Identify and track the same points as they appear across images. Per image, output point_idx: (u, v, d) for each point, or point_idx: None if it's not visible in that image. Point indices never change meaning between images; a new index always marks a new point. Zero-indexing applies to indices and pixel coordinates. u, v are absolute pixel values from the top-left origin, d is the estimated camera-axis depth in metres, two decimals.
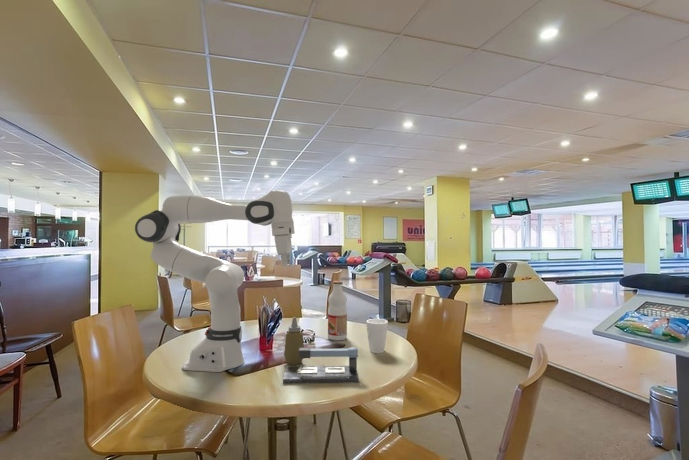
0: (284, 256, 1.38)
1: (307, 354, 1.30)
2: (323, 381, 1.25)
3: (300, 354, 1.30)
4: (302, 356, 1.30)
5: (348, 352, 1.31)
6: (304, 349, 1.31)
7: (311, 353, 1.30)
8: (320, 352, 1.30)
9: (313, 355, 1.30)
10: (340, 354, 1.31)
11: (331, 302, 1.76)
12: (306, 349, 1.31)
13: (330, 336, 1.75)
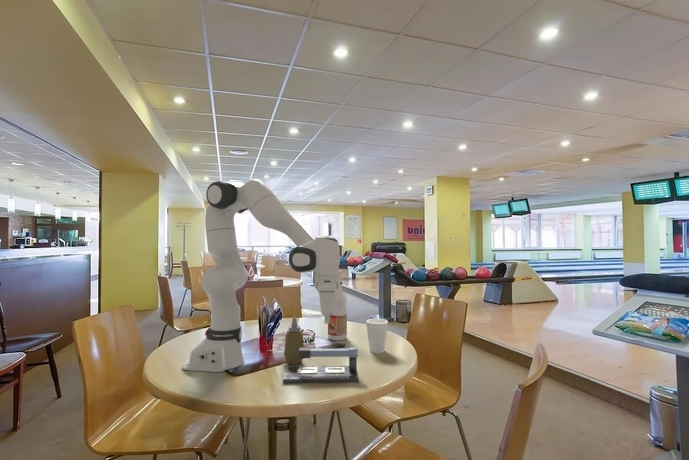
0: None
1: (307, 354, 1.30)
2: (323, 381, 1.25)
3: (300, 354, 1.30)
4: (302, 356, 1.30)
5: (348, 352, 1.31)
6: (304, 349, 1.31)
7: (311, 353, 1.30)
8: (320, 352, 1.30)
9: (313, 355, 1.30)
10: (340, 354, 1.31)
11: None
12: (306, 349, 1.31)
13: (330, 336, 1.75)
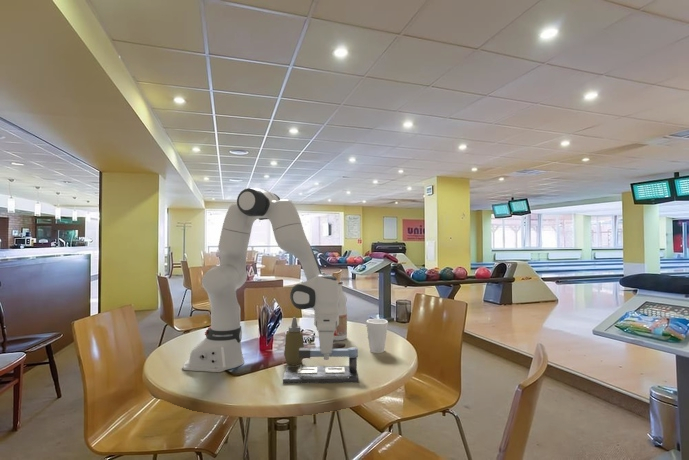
0: None
1: (307, 354, 1.30)
2: (323, 381, 1.25)
3: (300, 354, 1.30)
4: (302, 356, 1.30)
5: (348, 352, 1.31)
6: (304, 349, 1.31)
7: (311, 353, 1.30)
8: (320, 352, 1.30)
9: (313, 355, 1.30)
10: (340, 354, 1.31)
11: None
12: (306, 349, 1.31)
13: None
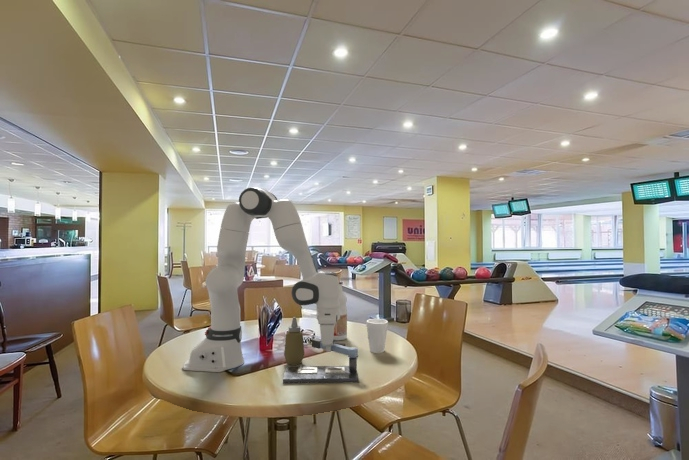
0: None
1: (317, 344, 1.41)
2: (323, 381, 1.25)
3: (312, 343, 1.43)
4: (314, 345, 1.42)
5: (347, 351, 1.32)
6: (317, 339, 1.43)
7: (320, 344, 1.41)
8: None
9: (322, 346, 1.40)
10: (341, 351, 1.34)
11: None
12: (318, 340, 1.42)
13: None
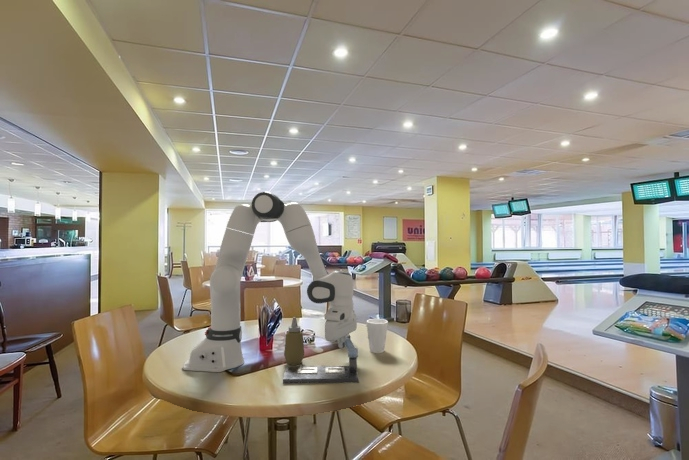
0: (339, 338, 1.40)
1: None
2: (323, 381, 1.25)
3: None
4: None
5: None
6: None
7: None
8: (345, 341, 1.44)
9: None
10: None
11: None
12: None
13: None
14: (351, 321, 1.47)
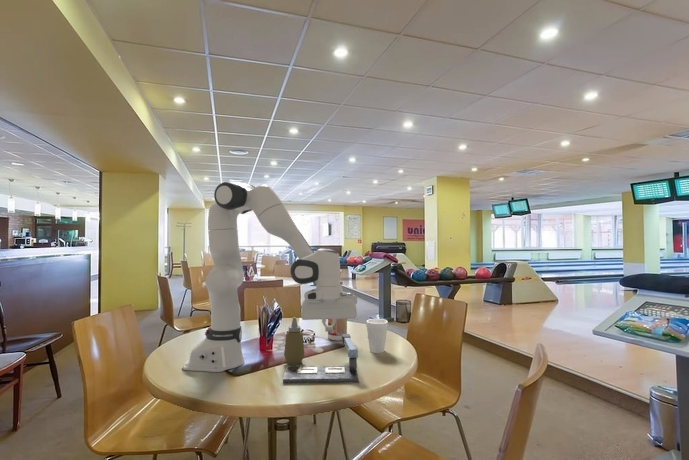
0: (322, 320, 1.31)
1: (342, 339, 1.48)
2: (323, 381, 1.25)
3: (342, 338, 1.51)
4: (342, 340, 1.50)
5: None
6: (345, 335, 1.50)
7: (344, 340, 1.47)
8: (345, 341, 1.44)
9: (344, 342, 1.46)
10: None
11: None
12: (345, 335, 1.49)
13: (330, 336, 1.75)
14: (343, 306, 1.30)
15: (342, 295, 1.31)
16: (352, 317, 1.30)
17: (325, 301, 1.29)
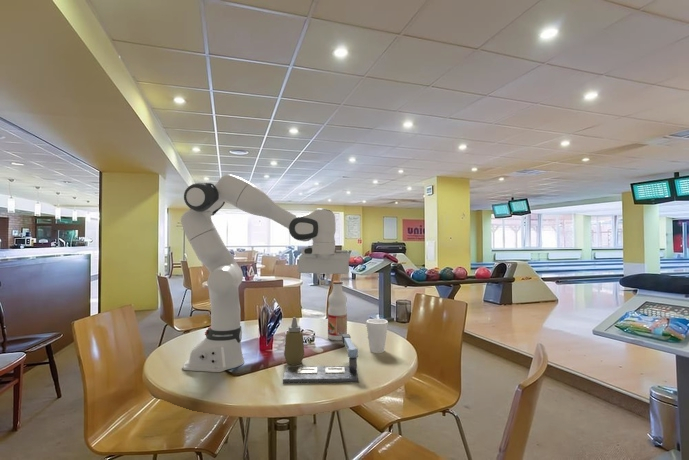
0: None
1: (342, 339, 1.48)
2: (323, 381, 1.25)
3: (342, 338, 1.51)
4: (342, 340, 1.50)
5: None
6: (345, 335, 1.50)
7: (344, 340, 1.47)
8: (345, 341, 1.44)
9: (344, 342, 1.46)
10: None
11: (331, 302, 1.76)
12: (345, 335, 1.49)
13: (330, 336, 1.75)
14: (337, 262, 1.41)
15: (336, 252, 1.42)
16: (344, 272, 1.41)
17: (320, 256, 1.39)
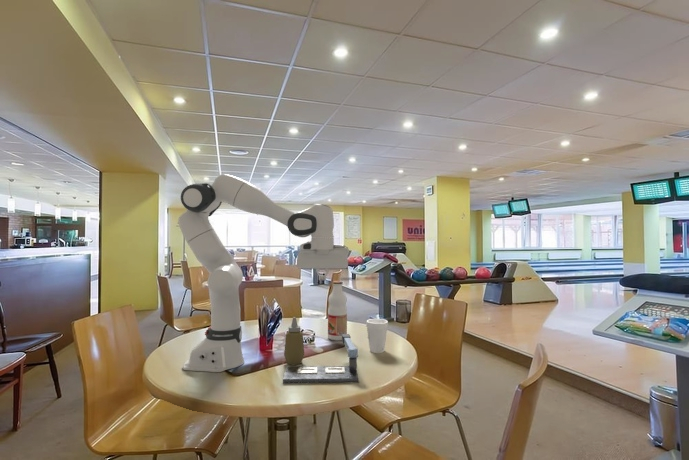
0: (316, 270, 1.43)
1: (342, 339, 1.48)
2: (323, 381, 1.25)
3: (342, 338, 1.51)
4: (342, 340, 1.50)
5: None
6: (345, 335, 1.50)
7: (344, 340, 1.47)
8: (345, 341, 1.44)
9: (344, 342, 1.46)
10: None
11: (331, 302, 1.76)
12: (345, 335, 1.49)
13: (330, 336, 1.75)
14: (335, 257, 1.42)
15: (335, 247, 1.43)
16: (343, 267, 1.42)
17: (319, 251, 1.40)
